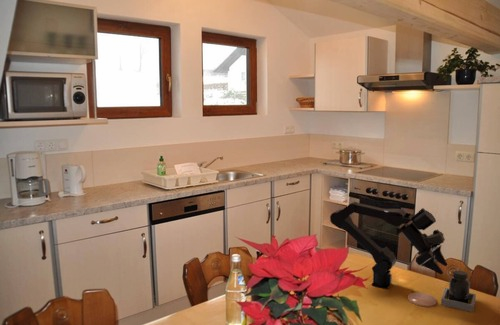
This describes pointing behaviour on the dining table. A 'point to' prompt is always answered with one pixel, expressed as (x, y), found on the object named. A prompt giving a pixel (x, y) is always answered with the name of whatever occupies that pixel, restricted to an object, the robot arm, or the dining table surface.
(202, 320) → the dining table surface
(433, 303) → the coaster
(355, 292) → the dining table surface
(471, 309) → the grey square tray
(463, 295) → the supplement bottle
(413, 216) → the robot arm
